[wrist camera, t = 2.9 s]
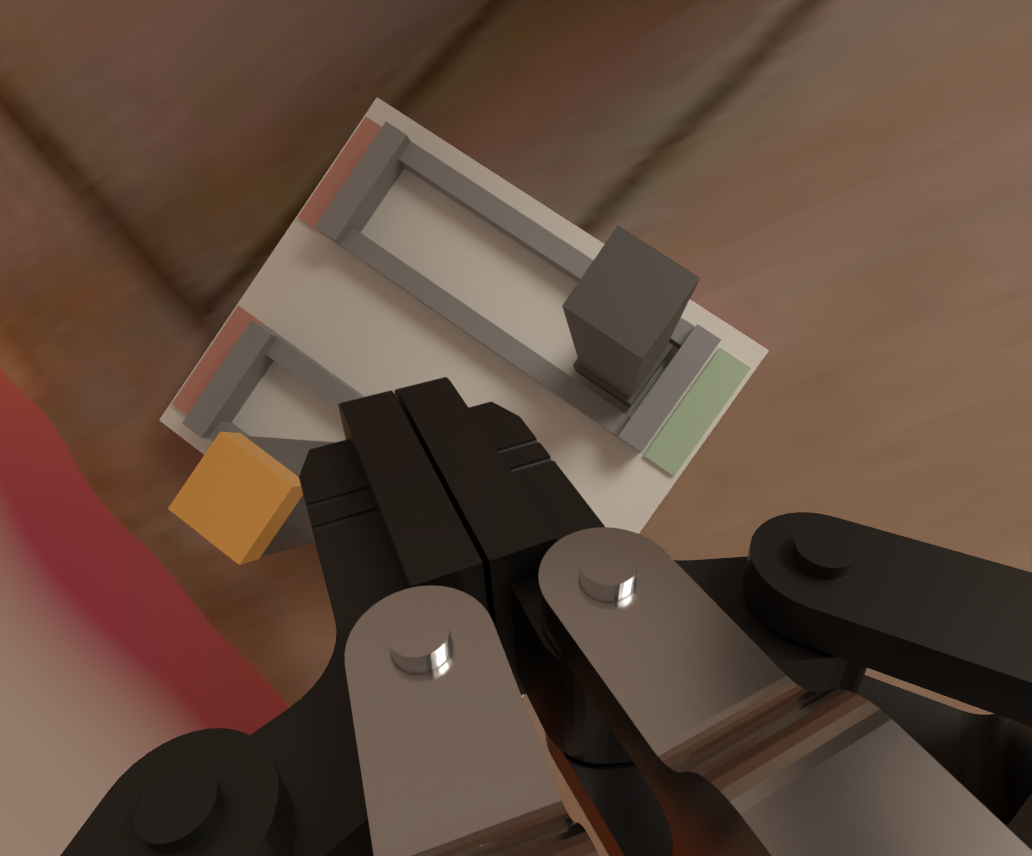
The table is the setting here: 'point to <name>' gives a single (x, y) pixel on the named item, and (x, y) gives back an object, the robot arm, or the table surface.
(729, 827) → the robot arm
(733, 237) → the table surface
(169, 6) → the table surface
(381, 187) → the panel
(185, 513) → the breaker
